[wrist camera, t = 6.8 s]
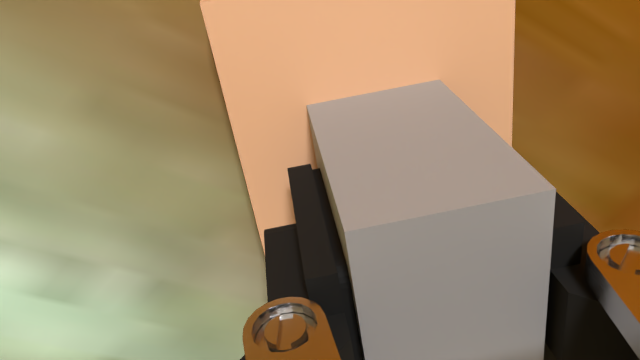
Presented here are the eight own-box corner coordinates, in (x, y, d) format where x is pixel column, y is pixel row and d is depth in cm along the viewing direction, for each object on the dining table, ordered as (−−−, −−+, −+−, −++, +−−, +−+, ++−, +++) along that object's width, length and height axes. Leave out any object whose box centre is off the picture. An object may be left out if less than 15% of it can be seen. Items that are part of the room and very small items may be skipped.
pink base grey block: (492, -61, 12) (709, -22, 6) (490, 287, 16) (611, 479, 11) (203, -8, 11) (167, 81, 6) (288, 329, 16) (311, 546, 11)
